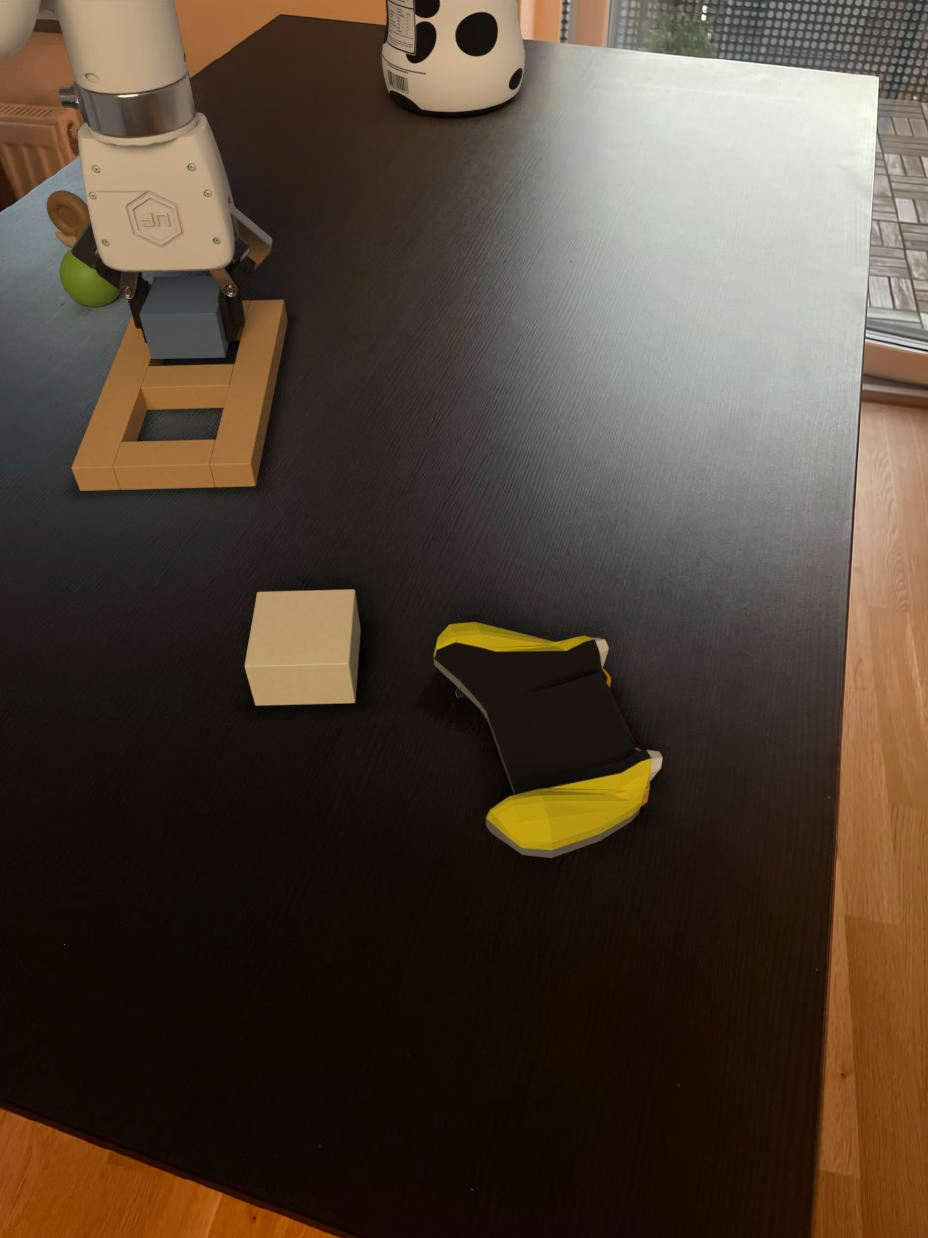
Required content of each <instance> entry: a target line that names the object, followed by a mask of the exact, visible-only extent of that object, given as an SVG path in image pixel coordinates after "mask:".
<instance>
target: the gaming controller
mask: <svg viewBox="0 0 928 1238" xmlns="http://www.w3.org/2000/svg"><path fill="white" fill-rule="evenodd" d="M609 650H610V648H609V645H608V643H607V641H606V639H604V638H601V637H600V638H599V637H590V636H588V635H579V636H575V637H570V638H567V639H563V640H560V641H555V640H549V639H546V638H543V637H542V638H541V637H538V636H534V635H529V634H525V633H521V632H518V631H513V630H510V629H505V628H501V627H497V626H493V625H490V624H485V623H481V622H476V621H471V622H461V623H451V624H448V625H447V626H446V628H444V630H443V631H441V633H440V634H439V635H438V637H437V640H436V644H435V649H434V652H433V665H434V667H436V668H437V669H438V671H440V672H441V673H442V674H443V675H444V676H445V677H446V678H447V679H448V680H449V681H450V682H452V684H453V685H455V686H456V687H457V688H458V689H459V690H460V691H461V692H462V693H463V694H464V695H465V696H466V697H468V699H469V700H470V701H471V702H472V703H473V704H474V705H475V706H476V707H477V708H478V709H479V710H480V712H481V713H482V714H483V716H484V717H485V718H486V720H487V723H488V726H489V728H490V731H491V734H492V736H493V740H494V743H495V746H496V748H497V750H498V754H499V757H500V759H501V762H502V765H503V768H504V770H505V773H506V776H507V779H508V782H509V784H510V788H511V790H512V793H513V795H509V796H507V797H504V798H503V799H502V800H500V801H498V803H496V804H495V805H494V806H492V807H491V808H490V809H489V810H488V813H487V814H486V816H485V827H486V828H487V829H488V831H489V832H490V833H491V834H492V835H493V836H495V837H496V838H497V839H499V840H500V841H502V842H503V843H504V844H506V845H508V847H510V848H512V849H513V850H515V851H516V852H517V853H519V854H520V855H521V856H529V857H537V858H547V859H553V858H555V857H558V856H561V855H565V854H567V853H570V852H572V851H573V852H574V851H575V850H578V849H581V848H583V847H586V846H589V845H592V844H595V843H598V842H601V841H602V840H604V839H605V838H607V837H609V836H611V835H612V834H614V833H615V832H616V831H618V830H620V829H621V828H623V827H625V826H627V825H628V824H629V823H631V822H632V821H634V820H635V818H636V817H637V816H638V815H639V814H640V810H641V807H642V806H644V805H646V804H647V803H648V800H649V795H650V789H651V781H652V780H653V779H654V777H655V776H656V775H657V774H658V772H659V771H660V770H661V769H662V764H663V757H664V756H662V754H661V752H660V751H657V750H650V749H646V748H644V749H642V750H641V749H640V748H638V745H637V742H636V741H635V738H634V737H633V734H632V732H631V730H630V728H629V725H628V724H627V721H626V720H625V718H624V715H623V713H622V711H621V708H620V707H619V704H618V702H617V701H616V698H615V696H614V694H613V692H612V690H611V683H612V677H611V676H610V674H609V673H608V672H607V671H606V669H604V665H605V662H606V659H607V656H608V653H609Z"/></svg>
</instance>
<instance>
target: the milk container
mask: <svg viewBox="0 0 928 1238" xmlns="http://www.w3.org/2000/svg"><path fill="white" fill-rule="evenodd" d="M385 11H386V16H385V17H386V20H385V21H386V23H385V30H384V37H383V43H382V48H381V49H382V50H381V67H382V74H383V78H384V81H385V87H386V89H387V91H388V93H389V96H390V97H391V98H392V99H393V100H394V101H395V102H396V103H397V104H398V105H400V106H401V107H402V108H404V109H407V110H410V111H412V112H414V113H416V114H421V115H427V116H434V117H448V118H449V117H450V118H451V117H453V118H459V117H466V116H467V117H469V116H476V115H481V114H485V113H489V112H493V111H496V110H498V109H499V108H501V107H503V106H504V105H506V104H509V103H510V102H511V101H512V100H513V99H515V97H516V96H517V94H518V93H519V91H520V89H521V87H522V82H523V78H524V73H525V63H526V51H525V43H524V39H523V38H524V37H523V35H522V30H521V25H520V19H519V0H385Z"/></svg>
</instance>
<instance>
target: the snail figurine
mask: <svg viewBox="0 0 928 1238" xmlns="http://www.w3.org/2000/svg"><path fill="white" fill-rule="evenodd" d="M46 211H47V215H48V218H49V220H50V221H51V222H52V224H53V226H54V227H55V228H56V229H57V230H58V231H55V232H54V235H55V237H56V239H58V240H59V241H60V242H61V243H62V244H63V245H64V246H66V248H69V250H68V251H67V252H66V253H65V254H64V256H63V257H62V259H61V261H60V265H59V279H60V283H61V285H62V287H63V289H64V291H65V292H66V294H67V295H68V296H69V297H70V298H71V299H72V300H73V301H75V302H77V303H78V304H80V305H82V306H86V307H89V308H100V307H105V306H107V305H109V304H111V303H112V302H114V301H115V300H116V299H117V298H118V297H119V295H121V294H120V292H119V289H117V288H116V287H114V286H113V285H112V284H110V283H109V282H107V281H106V280H105V279H103V278H102V277H101V276H99V275H98V273H97V271H96V270H95V269H92V268H90V267H89V266H87V265H86V264H84V263H83V262H82V261H80V260H79V259H77V258H76V257H75V256H73V254H72V251H71V250H72V247H73V245H74V244H75V242H76V240H77V239H78V237H79V236H80V234H81V233H82V231H83V230H84V228H85V227H86V226H87V224H88V223H89V221H90V215H89V210H88V205H87V202H85V201H84V200H83V199H82V198H81V197H80V196H79V195H77V194H75V193H73V192H71V191H68V190H65V189H64V190H63V189H59V190H56V191H53V192H52V193H51V194H49V196H48V198H47V201H46Z"/></svg>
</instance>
